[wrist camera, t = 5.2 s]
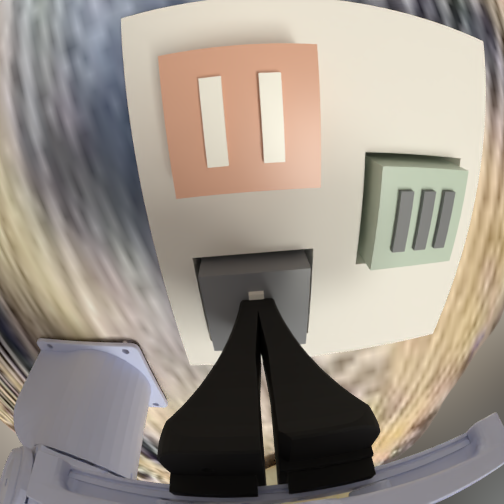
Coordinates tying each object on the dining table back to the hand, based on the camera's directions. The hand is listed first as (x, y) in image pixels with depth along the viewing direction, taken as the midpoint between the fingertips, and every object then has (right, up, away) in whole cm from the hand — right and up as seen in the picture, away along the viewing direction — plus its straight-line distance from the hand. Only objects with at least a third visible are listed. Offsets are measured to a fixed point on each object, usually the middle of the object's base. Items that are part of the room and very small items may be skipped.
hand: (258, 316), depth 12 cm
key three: (+7, +6, +1) cm, 9 cm away
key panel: (+3, +5, +1) cm, 6 cm away
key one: (0, +2, +3) cm, 3 cm away
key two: (-1, +8, -2) cm, 8 cm away
